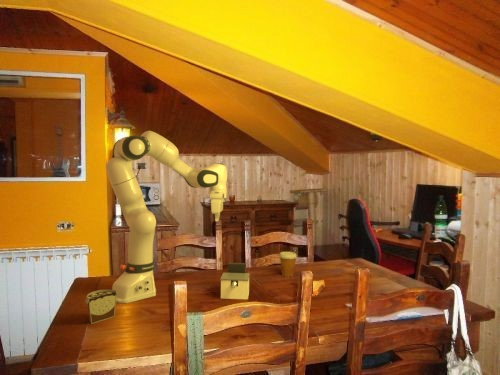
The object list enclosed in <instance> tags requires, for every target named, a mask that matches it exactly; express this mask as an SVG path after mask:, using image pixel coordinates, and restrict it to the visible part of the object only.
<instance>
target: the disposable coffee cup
mask: <svg viewBox="0 0 500 375" xmlns="http://www.w3.org/2000/svg"><path fill="white" fill-rule="evenodd" d="M279 259H280V268H281V275H282V276H283V277H286V278H287V277H288V278H289V277H290V276H291V277H293V276H294V274H295V268H296V262H297V261H296V260H297V253H296V252H294V251H281V252H280V253H279Z"/></svg>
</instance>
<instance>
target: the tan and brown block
mask: <svg viewBox="0 0 500 375" xmlns="http://www.w3.org/2000/svg"><path fill="white" fill-rule="evenodd" d="M116 295H117V296H118V294H117V291H116V290H112V289H98V290H94V291H91V292H89V293H87V295H86V298H85V300H84V302H85V304H86V305H87V311H88V320H89V324H91V325H93V324H96V323H100V322H102V321H105V320H109V319H112V318H115V316H116V315H115V313H116V304H117V302H116Z"/></svg>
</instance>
